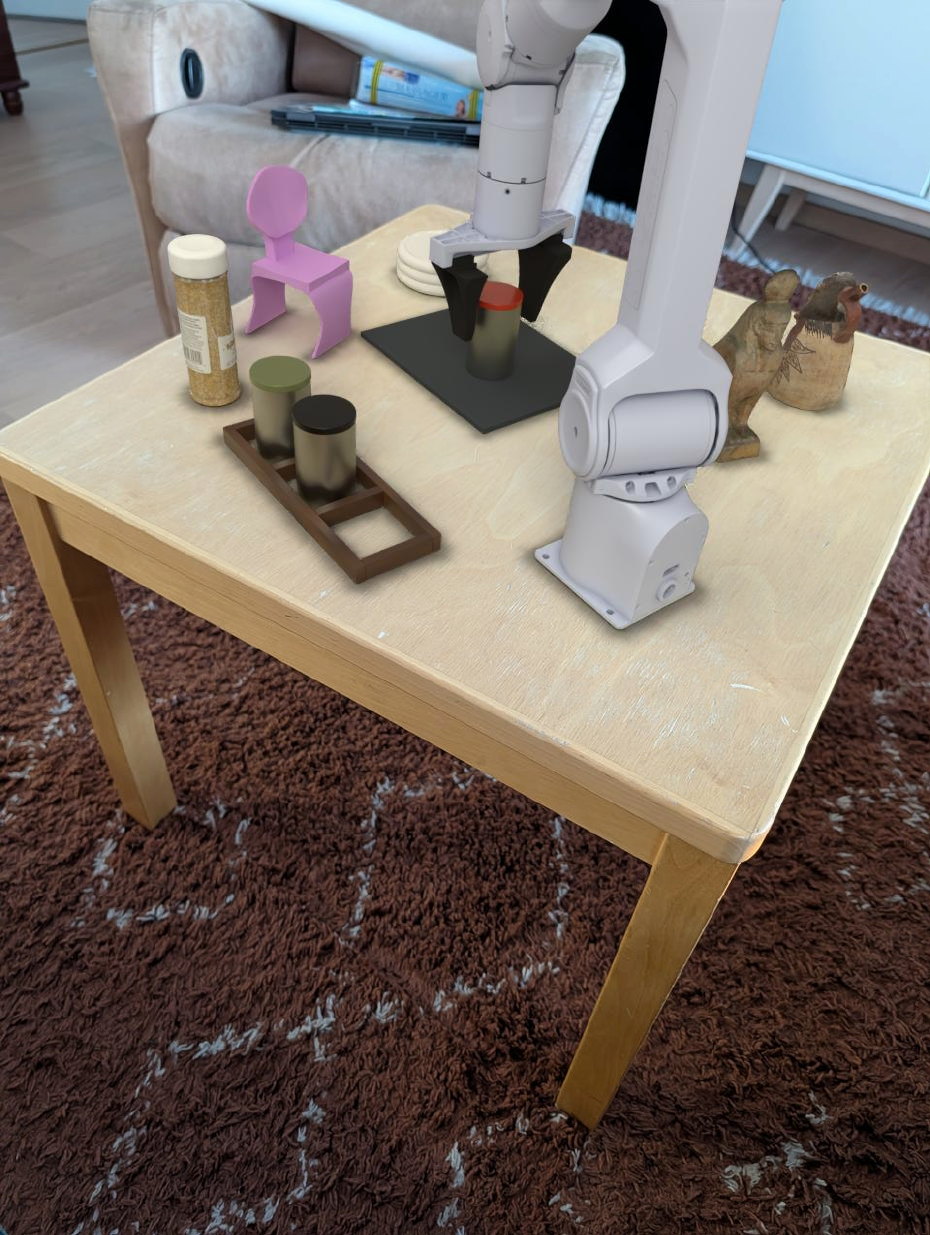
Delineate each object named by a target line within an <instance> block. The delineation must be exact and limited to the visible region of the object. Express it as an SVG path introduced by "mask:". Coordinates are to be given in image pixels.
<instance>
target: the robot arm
mask: <svg viewBox="0 0 930 1235" xmlns="http://www.w3.org/2000/svg"><path fill="white" fill-rule="evenodd" d="M649 1H650V2H652V3H653V4H656V5H657V6H658V8H659V11H660V13H661V15H662V18H663V20H664V23H665V26H666V29H667V30H666V31H667V32H666V34H667V36H666V42H665V48H664V53H663V59H662V64H661V70H660V75H659V81H658V82H659V83H658V87H657V93H656V98H655V104H654V109H653V114H652V120H651V121H652V122H651V127H650V132H649V138H648V144H647V149H646V154H645V161H644V166H643V172H642V176H641V182H640V189H639V194H638V199H637V206H636V211H635V216H634V223H633V228H632V234H631V239H630V244H629V245H630V246H629V252H628V257H627V262H626V268H625V272H624V273H625V274H624V278H623V285H622V291H621V295H620V296H621V297H620V302H619V306H618V313H617V319H616V322H615V324H614V325H613V326H612V327H610V329H608V330H607V331H606V332H604V333H603V334H602V335H601V336H600V337H599V338H597V339H595V341H593V342H592V343H591V344H590V345H588V346H587V347H586V348H585V349H583V350H582V351H581V352H580V353H579V354H578V355H577V356H576V362H575V367H574V370H573V374H572V378H571V382H570V385H569V388H568V390H567V392H566V394H565V396H564V398H563V400H562V402H561V405H560V407H559V409H558V410H559V411H558V417H557V432H558V434H557V435H558V443H559V447H560V452H561V455H562V458H563V460H564V462H565V465H566V466H567V467H568V469H569V470H570V471H571V472H572V473H573V474H574V483H573V485H572V491H571V496H570V501H569V505H568V506H569V507H568V510H567V516H566V520H565V521H566V522H565V526H564V531H563V535H562V538H559V539H557V540H555V541H553V542H551V543H549V544H545V545H544V546H541V547H539V548H537V549H535V551H534V558H535V560H537V561H538V562H539V563H540V564H541V565H543V566H544V567H545V568H546V569H547V570H548V571H549V572H551V573H552V575H554V576H555V577H556V578H558V580H559V581H561V582H562V583H563V584H564V585H566V586H567V587H568V588H569V589H570V590H571V591H572V592H573V593H574V594H576V595H577V596H578V597H580V599H581V600H583V601H584V602H585V603H586V604H587V605H588V606H590V607H591V608H592V609H593V610H594V611H595V612H596V613H598V614H599V615H600V616H601V617H602V618H604V620H606V622H608V623H609V624H610V625H611V626H613V628H615V629H618V630H622V629H626V628H627V627H629V626H632V625H633V624H635V623H637V622H639V621H640V620H643V619H645V618H646V617H648V616H650V615H652V614H654V613H656V612H658V611H659V610H661V609H663V608H665V607H667V606H669V605H671V604H672V603H675V602H676V601H678V600H681V599H682V598H684V597H686V596H688V595H690V594H691V593H693V592H694V591H695V588H696V585H695V583H694V582H693V581H692V580H693V577H694V575H695V572H696V568H697V566H698V562H699V559H700V557H701V554H702V551H703V548H704V545H705V542H706V540H707V536H708V533H709V525H710V523H709V519H708V516H707V515H706V513H704V511H703V510H702V509H701V508H700V507H698V505H697V504H696V503H695V502H694V501H693V499H692V497H691V495H690V494H689V491H688V490H687V488H686V485H689V484H693V483H694V480H695V477H696V473H697V472H698V471H697V470H698V468H706V467H708V466H710V465H712V464H713V463H715V461H716V459H717V457H718V456H719V454H720V452H721V450H722V447H723V445H724V443H725V440H726V436H727V432H728V395H729V389H730V385H731V382H732V378H733V376H732V374H731V372H730V370H729V368H728V366H727V364H726V362H725V360H724V359H723V358H722V356H721V355H720V354H719V353H718V352H717V351H716V350H715V349H714V348H713V347H712V346H713V345H711V344H710V343H708V342H707V341H706V340H705V339H704V338H703V333H704V329H705V324H706V320H707V316H708V312H709V308H710V304H711V300H712V295H713V292H714V288H715V283H716V279H717V275H718V270H719V268H720V267H719V266H720V262H721V259H722V255H723V251H724V246H725V242H726V237H727V233H728V230H729V225H730V222H731V217H732V214H733V208H734V204H735V200H736V197H737V192H738V189H739V184H740V180H741V176H742V171H743V167H744V164H745V159H746V155H747V152H748V148H749V143H750V138H751V134H752V130H753V126H754V122H755V118H756V114H757V110H758V105H759V102H760V98H761V93H762V89H763V85H764V81H765V76H766V72H767V68H768V65H769V60H770V56H771V52H772V47H773V43H774V40H775V35H776V31H777V27H778V22H779V18H780V16H781V15H780V14H781V11H782V6H783V3H784V2H785V1H786V0H649ZM612 2H613V0H484V1H483V4H482V5H481V9H480V12H479V15H478V20H477V26H476V27H477V29H476V37H475V39H476V42H475V54H476V65H477V71H478V76H479V79H480V82H481V83H482V85H483V96H482V108H481V121H480V134H479V144H478V145H479V146H478V156H477V169H476V179H475V193H474V203H473V204H474V205H473V210H472V211H470V214H469V220H467V221H464V222H463V223H461V224H459V225H457V226H455V227H453V228H451V229H450V230H446V231H447V232H445V233H443V234H440V235H437V236H433V237H430V255H429V260H431V263H432V265H433V267H434V269H435V271H436V273H437V275H438V278H439V280H440V282H441V285H442V287H443V290H444V293H445V296H444V297H445V300H446V303H447V309H448V308H449V313H450V318H451V324H452V331H453V334H455V335H456V336H458V337H459V338H460V339H462V340H463V341H465V342H467V341H470V340H472V337H473V334H474V330H475V322H476V314H477V307H478V303H479V299H480V296H481V293H482V290H483V288H484V285H485V283H486V282H488V279H489V277H490V276H489V275H488V274H485V273H484V272H482V271H481V270H479V269H478V268H477V263H474V257H476V256H481V255H485V254H493V253H497V252H500V251H517V255H518V284H517V285H518V286H517V288H519V289H520V290H521V291H522V293H523V295H524V297H523V303H522V308H521V316H520V318H523V319H524V320H526V321H527V322H529V323H531V324H532V323H535V322H537V320H538V318H539V315H540V313H541V310H542V308H543V305H544V304H545V301H546V298H547V297H548V294H549V292H550V290H551V289H552V286H553V284H554V282H555V281H556V279H557V278H558V277H559V275H560V273H561V272H562V270H563V269H564V268H565V267H566V265H567V264H568V263H569V262H570V261H571V260H572V256H573V247H572V246H571V245H570V244H568V243H566V242H565V241H564V240H569V239H572V238H574V234H575V226H576V221H577V215H575V214H573V213H571V212H569V211H567V210H565V209H564V208H558V209H551V210H549V209H548V210H543V205H544V198H545V190H546V184H547V183H546V182H547V176H548V168H549V167H548V166H549V161H550V153H551V144H552V137H553V130H554V122H555V116H557V115H559V114H561V111H562V109H563V106H564V98H565V94H566V90H567V87H568V85H569V83H570V81H571V79H572V76H573V74H574V70H575V67H576V62H577V61H576V60H577V56H578V54H577V48H578V47H579V45H581V43H583V41H584V40H585V39H586V38H587V37H588V36H589V34H590V33H591V32H592V31H593V30H594V29H595V28H596V27H597V26H598V25H599V23H600V22H601V21H603V19H604V18H605V16H606V15H607V13H608V12H609V10H610V8H611V5H612Z"/></svg>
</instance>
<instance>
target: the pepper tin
mask: <svg viewBox="0 0 930 1235" xmlns="http://www.w3.org/2000/svg"><path fill="white" fill-rule="evenodd" d="M292 420H293V430H294V448H295V465H296V478H295V480H296V493H297V494H298V495H299V496H300V497H301V498H302V499H303V500H304V501H305V502H306V504H307V505H308V506H309V507H310V508H311V509H312V510H313V509H316V508H318V507H321V506H324V505H327V504H329V503H332V502H335V501H338V500H340V499H343V498H346V497H349V496H351V495H354V494H357V480H356V455H357V437H356V436H357V435H356V434H357V409H356V407H355V405H354V403H353V402H351V401H350V400H349V399H346V398H345V397H342V396H340V395H336V394H330V393H329V394H328V393H327V394H326V393H320V394H319V393H318V394H313V395H312V394H311V396H308V397H305V398H302V399H301V400H299V401H298V402H296V403H295V404H294V406H293V408H292Z"/></svg>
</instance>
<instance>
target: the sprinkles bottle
mask: <svg viewBox="0 0 930 1235" xmlns="http://www.w3.org/2000/svg"><path fill="white" fill-rule="evenodd" d="M167 257H168V258H167V259H168V265H169V269H170V271H171V275H172V276H173V277H172V278H173V283H174V289H175V295H176V296H175V298H176V308H177V316H178V321H179V329H180V336H181V341H182V348H183V355H184V361H185V364H186V368H187V369H186V370H187V375H188V381H189V388H188V392H189V396H190V398H191V399H192V400H193V401H195V402H196V403H198V404H201V405H204V406H208V407H219V406H226V405H228V404H232V403H233V402H235V401H237V399H239V397H240V396H241V393H242V386H241V383H240V378H239V369H238V362H237V361H238V354H237V346H236V345H237V344H236V338H235V328H234V320H233V312H232V307H231V298H230V290H229V280H228V272H229V266H230V265H229V264H230V263H229V256H228V248H227V244H226V243H225V242H224V241H223V240H222V239H220V238H218V237H216V236H214V235H213V236H212V235H209V234H200V233H195V234H185V235H181V236H178V237H176V238H174V239H172V240H170V241H169V243H168V245H167Z"/></svg>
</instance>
